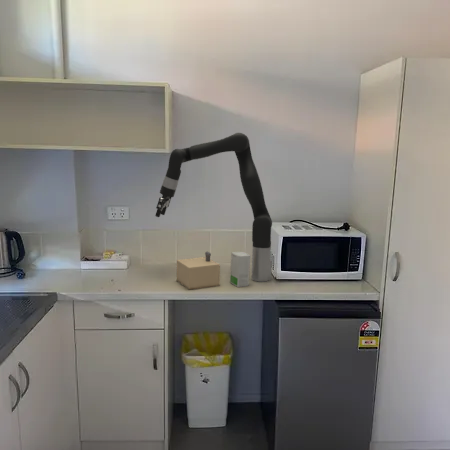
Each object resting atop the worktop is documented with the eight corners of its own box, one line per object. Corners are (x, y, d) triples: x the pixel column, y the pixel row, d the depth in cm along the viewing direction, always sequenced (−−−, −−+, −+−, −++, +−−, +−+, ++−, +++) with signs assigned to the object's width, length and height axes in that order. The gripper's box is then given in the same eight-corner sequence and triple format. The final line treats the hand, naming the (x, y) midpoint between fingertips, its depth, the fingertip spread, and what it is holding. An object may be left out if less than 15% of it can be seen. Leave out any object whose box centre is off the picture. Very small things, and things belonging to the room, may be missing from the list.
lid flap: (205, 258, 210) (205, 248, 210) (219, 265, 197) (219, 255, 196) (176, 261, 203) (176, 251, 202) (189, 269, 189) (189, 258, 189)
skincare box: (229, 282, 203) (230, 252, 201) (241, 281, 206) (242, 251, 204) (238, 287, 196) (238, 255, 193) (249, 285, 199) (250, 254, 196)
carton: (205, 276, 212) (206, 258, 211) (219, 285, 198) (220, 265, 197) (176, 280, 205) (176, 261, 203) (189, 289, 191) (189, 269, 189)
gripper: (172, 190, 204) (162, 220, 207) (179, 188, 218) (170, 216, 221) (158, 184, 204) (148, 214, 208) (166, 183, 218) (157, 211, 222)
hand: (159, 215), depth 214 cm, fingers open, 8 cm apart
